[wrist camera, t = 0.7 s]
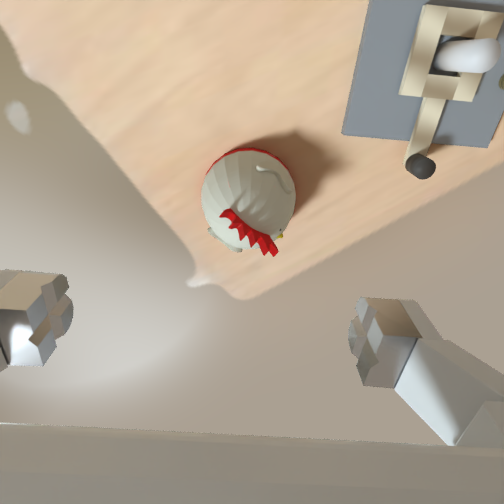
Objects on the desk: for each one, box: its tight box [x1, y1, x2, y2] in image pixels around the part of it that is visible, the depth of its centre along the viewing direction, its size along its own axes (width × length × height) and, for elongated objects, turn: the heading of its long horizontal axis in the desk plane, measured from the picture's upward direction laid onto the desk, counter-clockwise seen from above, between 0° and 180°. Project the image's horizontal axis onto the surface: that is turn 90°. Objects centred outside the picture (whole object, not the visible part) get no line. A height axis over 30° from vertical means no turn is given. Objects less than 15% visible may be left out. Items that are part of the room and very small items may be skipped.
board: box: [341, 0, 504, 148], centre depth 37 cm, size 20×20×10 cm
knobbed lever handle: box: [398, 4, 504, 179], centre depth 40 cm, size 18×9×4 cm, turn 175°
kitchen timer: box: [201, 148, 296, 257], centre depth 44 cm, size 14×14×15 cm
